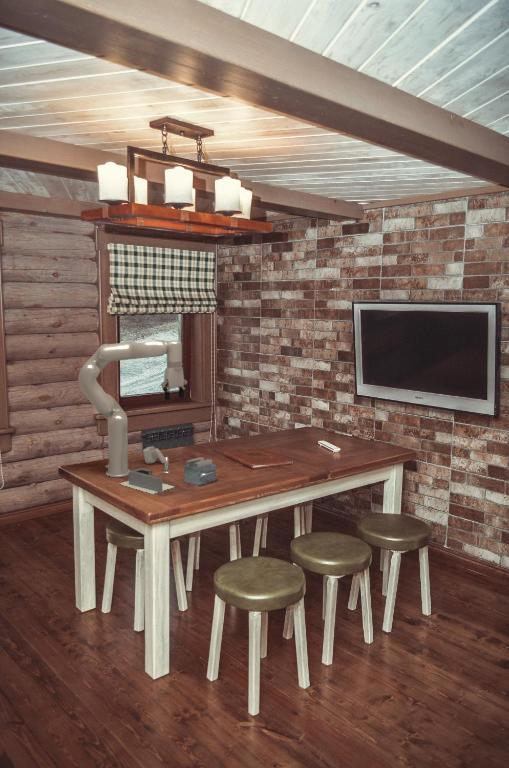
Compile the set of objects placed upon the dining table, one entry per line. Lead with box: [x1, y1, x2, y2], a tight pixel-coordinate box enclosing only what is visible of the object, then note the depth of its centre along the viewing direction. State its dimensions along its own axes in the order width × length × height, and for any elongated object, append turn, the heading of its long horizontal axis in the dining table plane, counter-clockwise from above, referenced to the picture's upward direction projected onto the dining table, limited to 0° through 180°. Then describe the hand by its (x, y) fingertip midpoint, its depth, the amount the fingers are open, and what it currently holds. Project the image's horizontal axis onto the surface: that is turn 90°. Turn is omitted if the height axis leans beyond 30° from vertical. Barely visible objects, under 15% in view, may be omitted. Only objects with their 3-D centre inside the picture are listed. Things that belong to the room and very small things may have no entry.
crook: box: [128, 467, 163, 493], centre depth 280 cm, size 20×9×6 cm, turn 54°
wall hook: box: [142, 445, 165, 465], centre depth 322 cm, size 8×10×10 cm
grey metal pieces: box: [162, 456, 219, 486], centre depth 295 cm, size 32×12×10 cm, turn 51°
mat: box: [118, 480, 175, 495], centre depth 281 cm, size 24×14×1 cm, turn 51°
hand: (174, 398), depth 302 cm, fingers open, 9 cm apart
